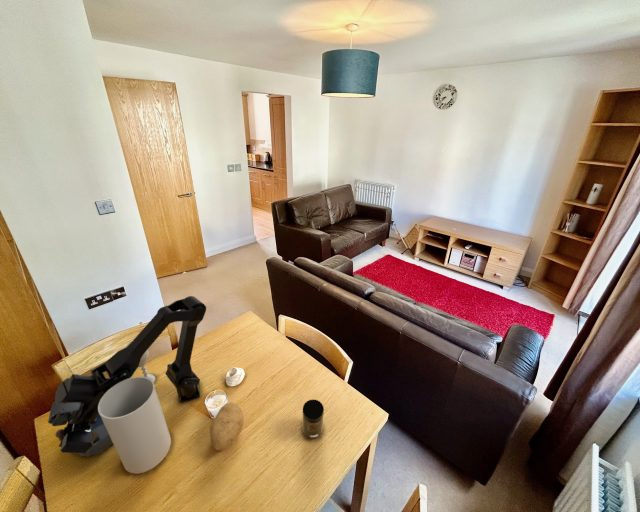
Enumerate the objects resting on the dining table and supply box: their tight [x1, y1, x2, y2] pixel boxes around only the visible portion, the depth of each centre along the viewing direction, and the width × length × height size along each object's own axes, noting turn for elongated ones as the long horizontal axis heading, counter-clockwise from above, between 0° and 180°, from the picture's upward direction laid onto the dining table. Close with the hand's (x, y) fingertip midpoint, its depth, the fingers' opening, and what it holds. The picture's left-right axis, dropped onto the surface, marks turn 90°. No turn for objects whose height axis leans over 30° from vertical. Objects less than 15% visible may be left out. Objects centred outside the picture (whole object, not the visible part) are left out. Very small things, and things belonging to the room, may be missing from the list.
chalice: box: [124, 341, 156, 383], centre depth 102 cm, size 7×7×18 cm
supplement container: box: [302, 399, 325, 440], centre depth 88 cm, size 7×7×10 cm
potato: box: [209, 402, 244, 451], centre depth 87 cm, size 10×14×8 cm
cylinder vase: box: [98, 375, 172, 475], centre depth 78 cm, size 12×12×25 cm
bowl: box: [75, 414, 114, 457], centre depth 86 cm, size 13×13×4 cm
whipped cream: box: [225, 366, 246, 387], centre depth 106 cm, size 8×7×5 cm
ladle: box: [55, 428, 99, 444], centre depth 80 cm, size 8×4×12 cm, turn 165°
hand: (61, 443), depth 77 cm, fingers closed, pressing on ladle
